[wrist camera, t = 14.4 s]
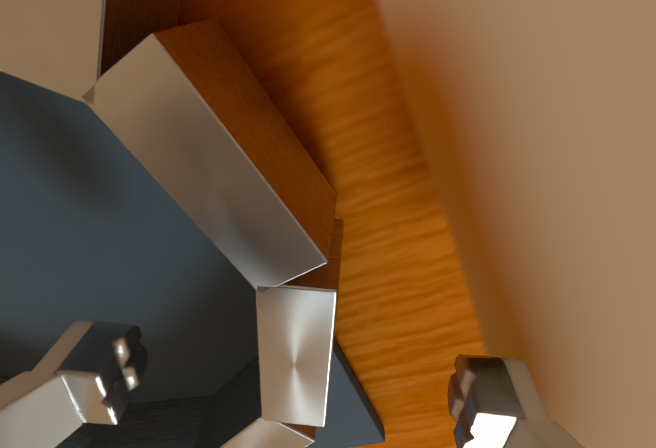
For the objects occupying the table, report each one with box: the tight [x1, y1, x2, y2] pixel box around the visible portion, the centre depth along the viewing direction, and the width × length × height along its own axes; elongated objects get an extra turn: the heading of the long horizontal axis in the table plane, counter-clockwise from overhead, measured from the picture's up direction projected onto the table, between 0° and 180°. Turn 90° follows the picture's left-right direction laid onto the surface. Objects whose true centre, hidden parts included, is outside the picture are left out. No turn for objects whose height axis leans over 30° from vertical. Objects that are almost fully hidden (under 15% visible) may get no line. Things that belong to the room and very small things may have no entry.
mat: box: [0, 71, 385, 448], centre depth 13 cm, size 24×14×1 cm, turn 22°
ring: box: [0, 0, 344, 448], centre depth 11 cm, size 18×18×3 cm
